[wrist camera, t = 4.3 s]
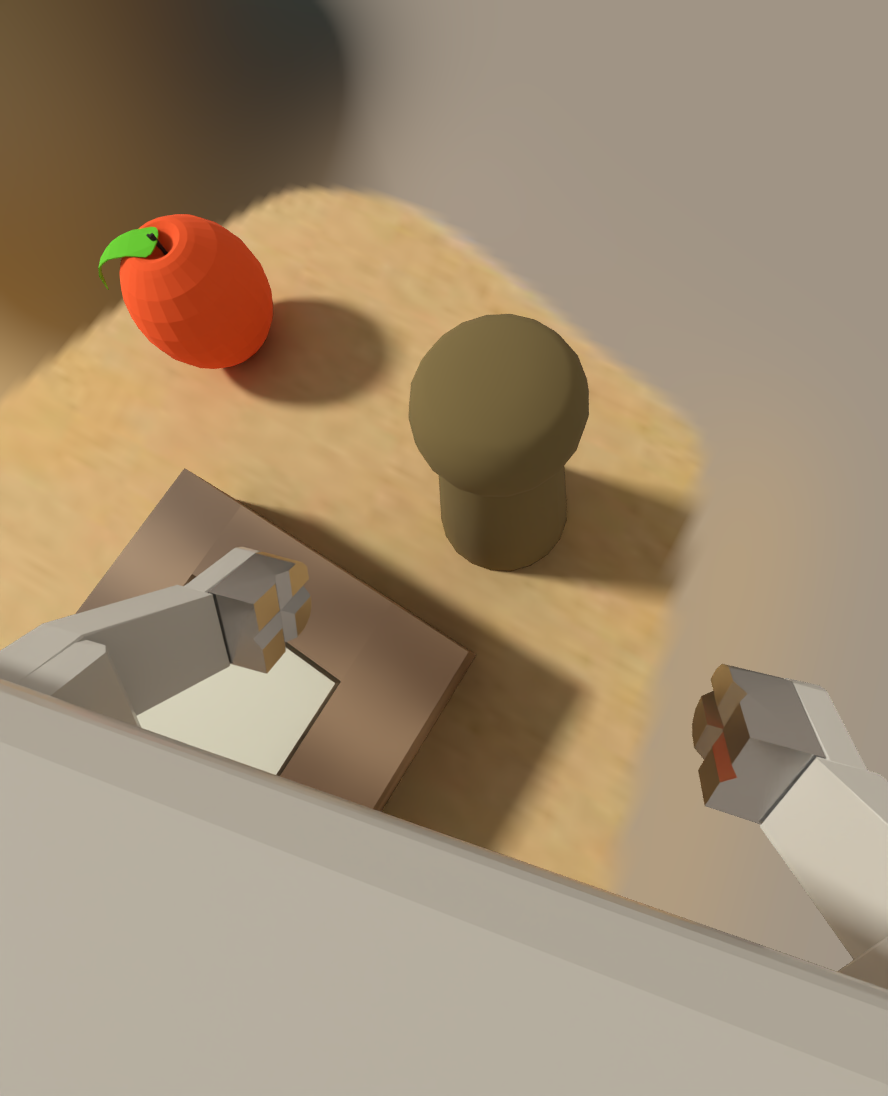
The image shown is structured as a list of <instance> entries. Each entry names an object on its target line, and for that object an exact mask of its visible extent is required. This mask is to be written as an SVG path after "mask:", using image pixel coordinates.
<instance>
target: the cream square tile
mask: <svg viewBox="0 0 888 1096" xmlns="http://www.w3.org/2000/svg"><path fill="white" fill-rule="evenodd" d="M285 647H286V652H285V653H284V654H283V655H282V657H281V658H280V659H279V660H278V661H277V663H276V664H275V665H274V666H273V667H272V669H271V670H270V671H269V672H268V673H267V674H266V673H262V672H258V671H255V670H251V669H247V668H244V667H240V666H236V665H232V664H230V666H229V667H227V668H226V669H224V670H222V671H220V672H218V673H216V674H214V675H212V676H211V677H209V678H207V679H205V680H203V681H201V682H199V683H197V684H196V685H194V686H192V687H190V688H188V689H186V690H184V691H182V692H180V693H179V694H177V695H175V696H173V697H171V698H169V699H167V700H165V701H164V702H162V703H160V704H158V705H156V706H154V707H152V708H150V709H149V710H147V711H145V712H143V713H141V714H139V715H137V718H138V721H139V723H140V725H141V727H142V728H143V729H146V730H149V731H152V732H155V733H158V734H161V735H163V736H166V737H169V738H172V739H175V740H178V741H180V742H183V743H186V744H189V745H192V746H195V747H198V748H200V749H203V750H206V751H209V752H212V753H215V754H218V755H220V756H223V757H226V758H229V759H232V760H235V761H237V762H240V763H243V764H246V765H249V766H252V767H255V768H257V769H260V770H263V771H266V772H269V773H272V774H274V775H277V776H280V775H281V773H282V772H283V770H284V769H285V767H286V766H287V764H288V763H289V761H290V760H291V758H292V756H293V755H294V753H295V752H296V750H297V749H298V747H299V746H300V744H301V742H302V741H303V739H304V738H305V736H306V735H307V733H308V732H309V730H310V729H311V727H312V725H313V724H314V722H315V721H316V719H317V718H318V716H319V715H320V713H321V712H322V710H323V708H324V707H325V705H326V704H327V702H328V701H329V699H330V698H331V696H332V694H333V693H334V691H335V690H336V688H337V687H338V685H339V684H340V682H341V681H340V680H339V679H337V678H336V677H334V676H333V675H332V674H330V673H329V672H327V671H326V670H325V669H323V668H322V667H321V666H319V665H318V664H316V663H315V662H314V661H312V660H311V659H309V658H308V657H307V656H305V655H304V654H303V653H301V652H300V651H298V650H297V649H296V648H294V647H293V646H291V645H290V644H289V643H287V642H285Z"/></svg>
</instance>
